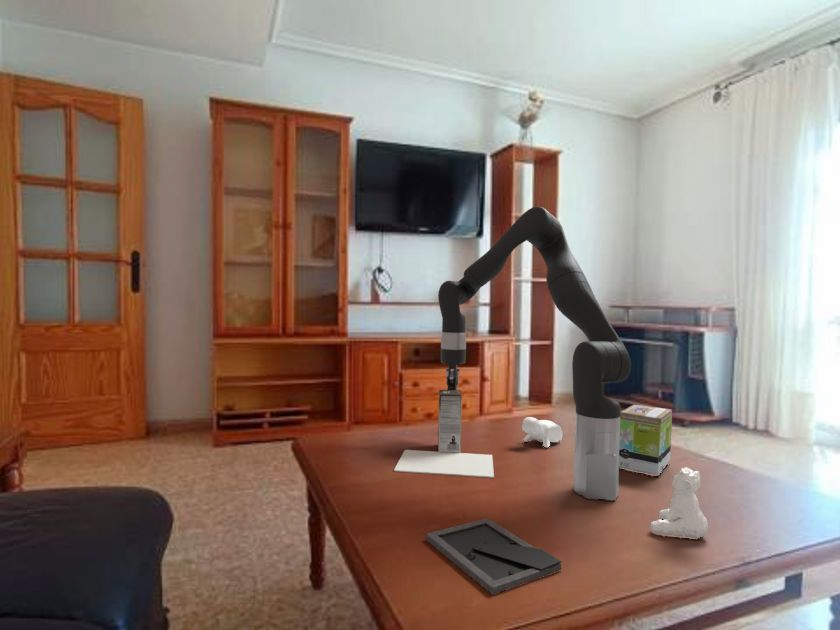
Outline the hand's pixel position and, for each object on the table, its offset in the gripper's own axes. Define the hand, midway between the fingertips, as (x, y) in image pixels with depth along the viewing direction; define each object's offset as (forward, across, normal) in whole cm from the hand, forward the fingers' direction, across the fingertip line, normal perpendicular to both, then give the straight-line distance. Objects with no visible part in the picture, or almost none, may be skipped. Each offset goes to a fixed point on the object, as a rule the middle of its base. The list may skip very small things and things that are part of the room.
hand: (452, 404), depth 144 cm
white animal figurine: (+11, +2, -26) cm, 29 cm away
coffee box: (+11, -9, 0) cm, 14 cm away
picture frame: (+12, -66, -10) cm, 68 cm away
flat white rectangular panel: (+11, -22, 0) cm, 24 cm away
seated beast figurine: (+11, -52, -45) cm, 70 cm away
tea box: (+11, -14, -51) cm, 54 cm away
